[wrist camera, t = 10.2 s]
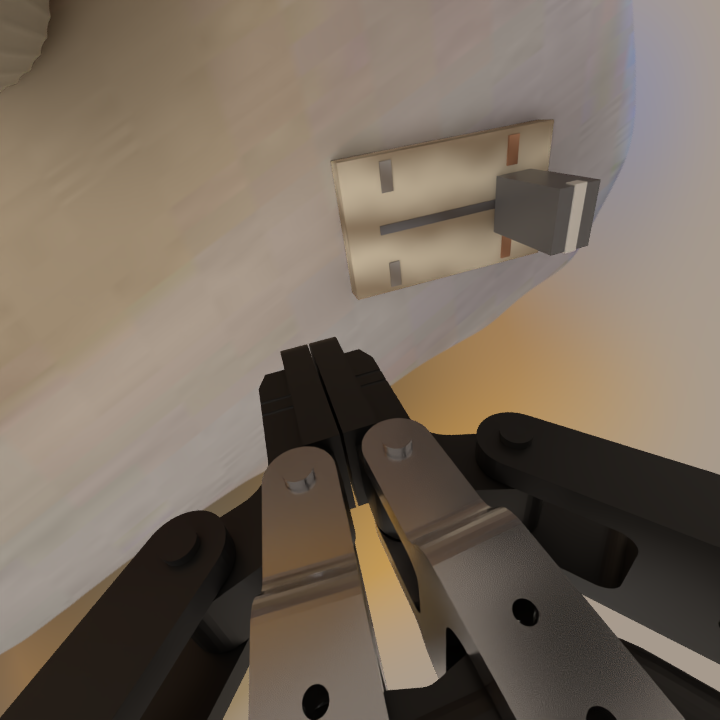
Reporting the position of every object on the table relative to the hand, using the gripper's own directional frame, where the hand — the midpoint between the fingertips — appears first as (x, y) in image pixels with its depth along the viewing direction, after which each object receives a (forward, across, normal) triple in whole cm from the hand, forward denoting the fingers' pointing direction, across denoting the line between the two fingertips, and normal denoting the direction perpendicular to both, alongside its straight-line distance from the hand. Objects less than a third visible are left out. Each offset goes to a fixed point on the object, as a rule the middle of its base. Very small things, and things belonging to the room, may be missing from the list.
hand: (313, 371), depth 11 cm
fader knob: (+24, -23, +4) cm, 34 cm away
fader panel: (+26, -17, +4) cm, 32 cm away
